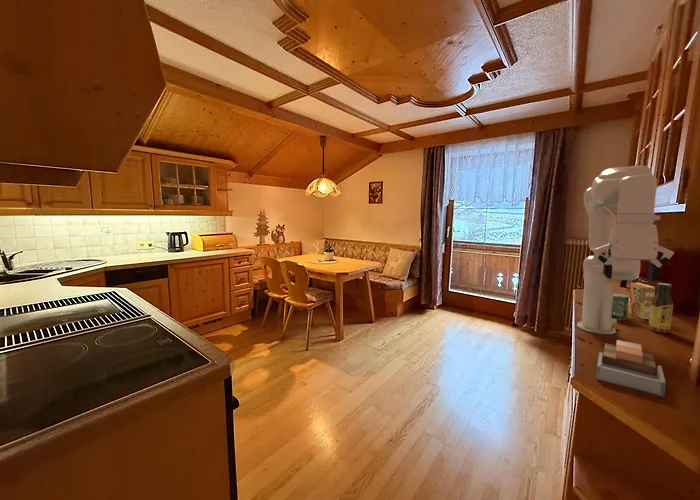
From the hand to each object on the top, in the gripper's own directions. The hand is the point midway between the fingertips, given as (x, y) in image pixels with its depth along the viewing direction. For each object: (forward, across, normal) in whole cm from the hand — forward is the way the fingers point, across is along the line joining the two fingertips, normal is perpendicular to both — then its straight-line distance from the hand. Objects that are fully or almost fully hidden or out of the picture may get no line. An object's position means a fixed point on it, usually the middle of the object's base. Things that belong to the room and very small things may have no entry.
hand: (629, 278), depth 86 cm
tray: (+30, -1, +1) cm, 30 cm away
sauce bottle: (+30, -27, -51) cm, 65 cm away
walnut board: (+30, -5, -11) cm, 32 cm away
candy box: (+30, -28, -71) cm, 82 cm away
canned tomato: (+30, -17, -65) cm, 73 cm away
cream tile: (+27, -6, -14) cm, 31 cm away
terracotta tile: (+27, -4, -8) cm, 29 cm away
